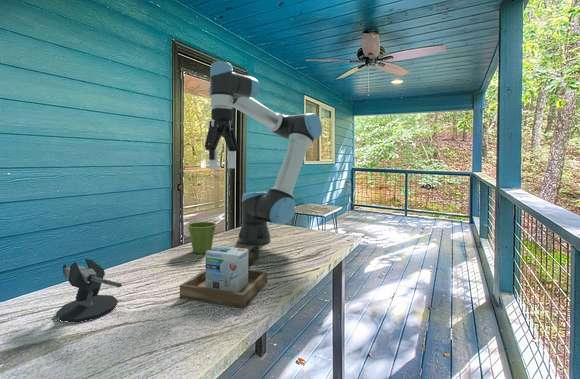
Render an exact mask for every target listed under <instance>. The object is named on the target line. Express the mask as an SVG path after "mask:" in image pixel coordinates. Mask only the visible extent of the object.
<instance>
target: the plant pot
mask: <svg viewBox="0 0 580 379" xmlns="http://www.w3.org/2000/svg"><path fill="white" fill-rule="evenodd" d="M217 225H218V224H217V223H216V222H213V221H198V222H197V221H196V222H191V223H188V224H186V227H187V228H188V233H189V236H190V243H191V246H192V248H191V249H192V251H193V253H197V254H206V251H208V250H210V249H212V248H213V241H214V235H215V231H216V226H217Z"/></svg>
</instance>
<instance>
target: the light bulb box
mask: <svg viewBox="0 0 580 379" xmlns="http://www.w3.org/2000/svg"><path fill="white" fill-rule="evenodd" d="M248 254H249V249H248V248H241V247H232V246H231V247H230V246H224V245H223V246H222V245H216V246H214V247H212V248H211V249H210V250H208V251H206V253H205V269H206V288H212V289H219V290H225V291H232V292H240V291H241V290H242V289H243V288H244V287H245V286H246V285H247V284H248V269H249V266H248Z"/></svg>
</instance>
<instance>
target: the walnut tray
mask: <svg viewBox="0 0 580 379" xmlns="http://www.w3.org/2000/svg"><path fill="white" fill-rule="evenodd" d="M267 284H268V270H267V271H266V270H257V269H250V268H248V284H247V285H246V286H245V287H244V288H243V289H242V290H241V291H240V292H232V291H225V290H219V289H212V288H206V268H205V269H203V270H202V271H200V272H199V273H198V274H196V275H195V276H193V277H190V279H188V280H187V281H185V282H183V283H181V284H180V285H179V298H180V299H184V300H191V301H196V302H203V303H209V304H215V305H220V306H226V307H227V306H228V307H234V308H239V309H245V308H246V307H247V306H248V305H249V303H251V302H252V300H253V299H254V298H255V297H256V296H257V294H259V292H261V290H262V289H263V288H264V287H265V286H266V285H267Z"/></svg>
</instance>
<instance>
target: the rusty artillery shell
mask: <svg viewBox="0 0 580 379" xmlns="http://www.w3.org/2000/svg"><path fill="white" fill-rule="evenodd" d="M258 257H259V246H257V245H256V246H255V245H254V246H253V247H251V248H250V249H249V251H248V267H249V266H251V265H252V264H253V263H254V261H255V262H256V261H257V260H258V259H259V258H258Z"/></svg>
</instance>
